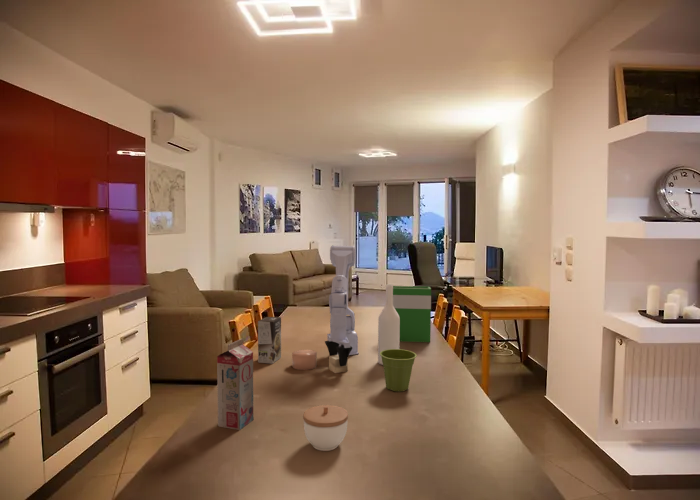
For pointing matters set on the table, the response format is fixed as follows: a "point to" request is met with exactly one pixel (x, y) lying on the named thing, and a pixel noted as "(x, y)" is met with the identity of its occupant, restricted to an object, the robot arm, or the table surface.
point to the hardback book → (413, 312)
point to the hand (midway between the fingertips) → (338, 362)
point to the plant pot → (397, 368)
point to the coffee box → (269, 339)
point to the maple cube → (336, 364)
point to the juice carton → (235, 386)
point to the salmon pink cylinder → (304, 359)
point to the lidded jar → (325, 426)
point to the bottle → (388, 325)
